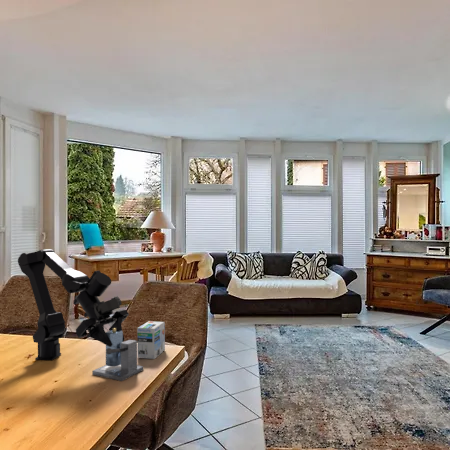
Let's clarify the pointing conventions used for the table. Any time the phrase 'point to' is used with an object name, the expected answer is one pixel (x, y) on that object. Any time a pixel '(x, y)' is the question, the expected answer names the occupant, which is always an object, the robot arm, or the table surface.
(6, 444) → the table surface
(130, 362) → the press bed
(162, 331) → the light bulb box
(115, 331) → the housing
